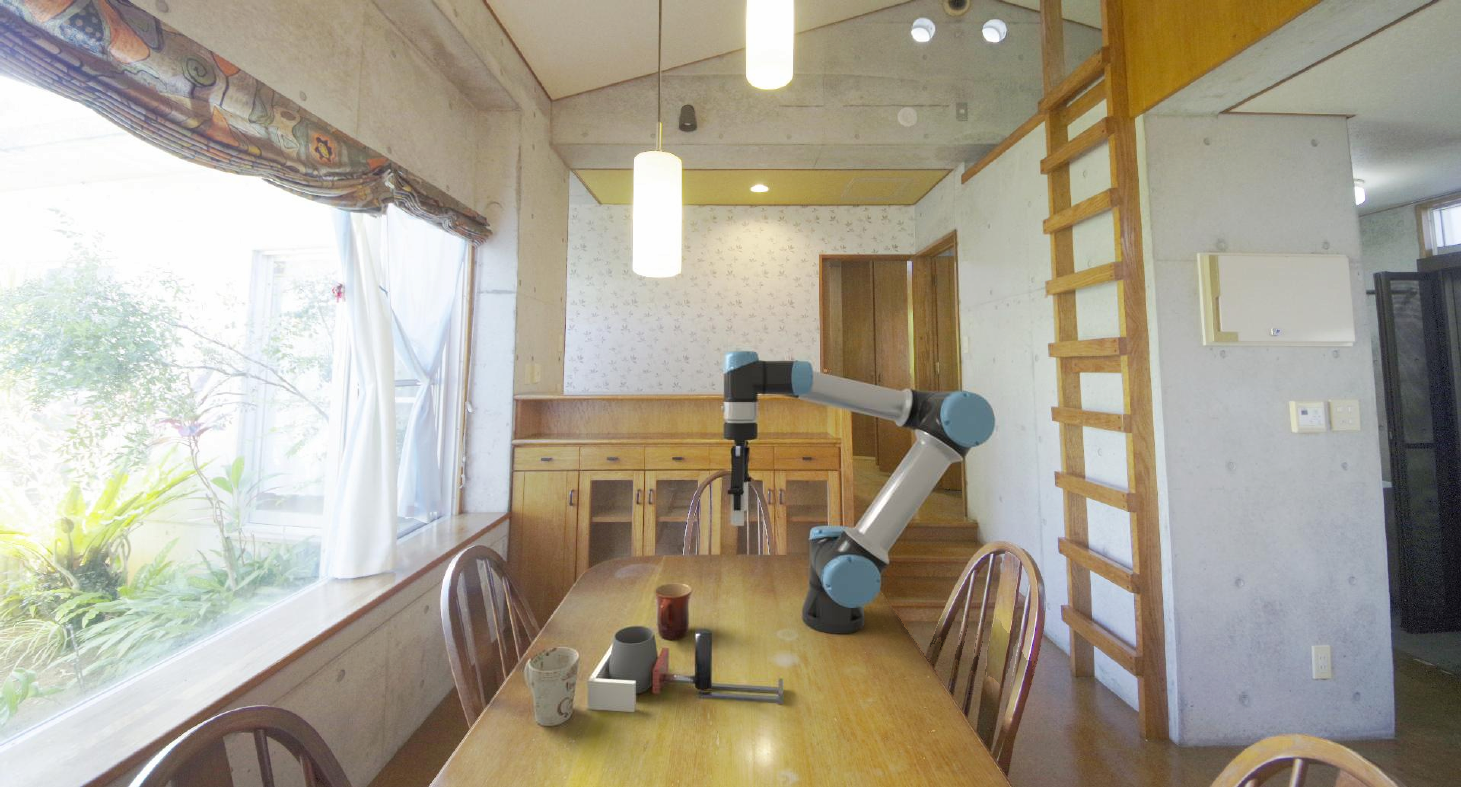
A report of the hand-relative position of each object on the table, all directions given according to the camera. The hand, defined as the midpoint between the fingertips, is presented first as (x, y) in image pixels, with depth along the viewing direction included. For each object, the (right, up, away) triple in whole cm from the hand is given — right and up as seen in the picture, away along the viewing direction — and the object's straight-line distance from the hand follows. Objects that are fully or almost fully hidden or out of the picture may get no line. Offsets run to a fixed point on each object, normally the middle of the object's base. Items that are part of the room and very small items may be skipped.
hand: (739, 517), depth 116 cm
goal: (-23, -29, -16) cm, 40 cm away
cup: (-21, -29, -16) cm, 39 cm away
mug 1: (-35, -29, -24) cm, 51 cm away
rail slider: (-11, -28, -17) cm, 34 cm away
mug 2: (-16, -29, +5) cm, 33 cm away
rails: (0, -29, -18) cm, 34 cm away
